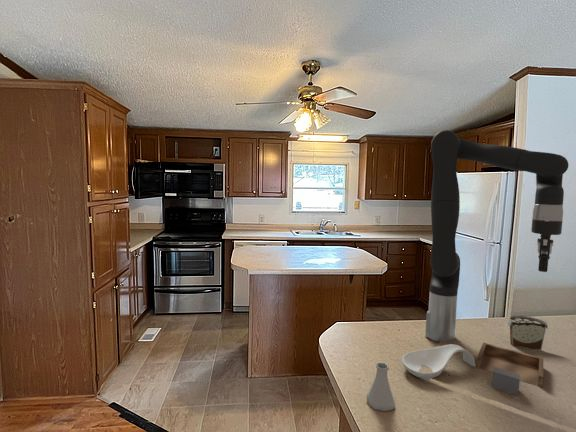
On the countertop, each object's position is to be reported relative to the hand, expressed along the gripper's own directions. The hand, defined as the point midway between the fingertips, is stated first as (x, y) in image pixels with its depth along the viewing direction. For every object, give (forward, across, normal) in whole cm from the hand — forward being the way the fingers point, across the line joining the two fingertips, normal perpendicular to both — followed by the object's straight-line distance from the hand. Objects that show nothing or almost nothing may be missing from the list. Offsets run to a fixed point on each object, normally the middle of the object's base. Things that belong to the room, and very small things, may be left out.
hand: (542, 269), depth 105 cm
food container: (+30, -9, -4) cm, 32 cm away
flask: (+30, +54, -31) cm, 69 cm away
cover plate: (+31, +28, -6) cm, 42 cm away
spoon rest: (+31, +28, -23) cm, 47 cm away
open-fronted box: (+30, +15, -6) cm, 34 cm away
